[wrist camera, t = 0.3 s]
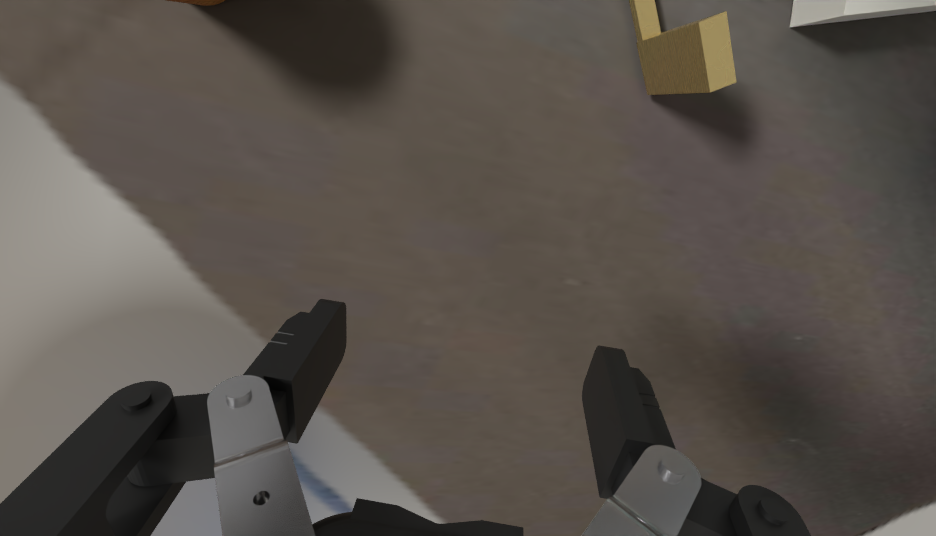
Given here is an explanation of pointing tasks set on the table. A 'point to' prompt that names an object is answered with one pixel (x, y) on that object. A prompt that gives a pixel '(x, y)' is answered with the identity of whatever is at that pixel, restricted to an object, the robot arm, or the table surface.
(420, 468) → the table surface
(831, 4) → the housing
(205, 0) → the disposable coffee cup
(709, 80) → the key lever
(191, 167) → the table surface
